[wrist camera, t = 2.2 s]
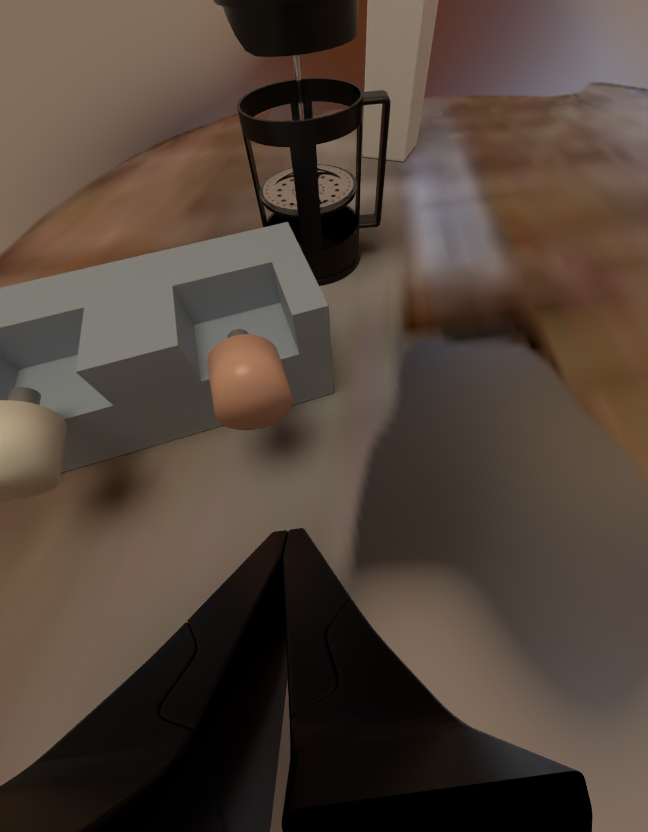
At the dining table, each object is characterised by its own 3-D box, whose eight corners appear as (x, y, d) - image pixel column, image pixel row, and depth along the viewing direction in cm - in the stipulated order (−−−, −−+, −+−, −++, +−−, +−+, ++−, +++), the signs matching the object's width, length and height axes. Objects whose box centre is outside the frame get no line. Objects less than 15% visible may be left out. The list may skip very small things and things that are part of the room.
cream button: (78, 482, 15) (12, 451, 12) (-1, 506, 15) (-90, 479, 12) (86, 404, 18) (33, 361, 15) (18, 423, 18) (-51, 382, 14)
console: (333, 393, 24) (328, 305, 17) (-142, 532, 20) (-386, 492, 14) (301, 315, 28) (287, 221, 22) (-91, 418, 25) (-254, 346, 18)
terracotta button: (297, 417, 17) (286, 373, 14) (229, 437, 16) (201, 396, 13) (277, 351, 19) (263, 302, 16) (217, 368, 19) (191, 320, 16)
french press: (260, 291, 31) (104, -280, 11) (264, 236, 36) (163, -226, 16) (383, 280, 30) (449, -326, 11) (370, 226, 35) (400, -258, 16)
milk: (403, 163, 43) (449, -189, 24) (361, 157, 44) (372, -176, 26) (417, 144, 45) (467, -186, 27) (376, 139, 47) (397, -174, 28)
